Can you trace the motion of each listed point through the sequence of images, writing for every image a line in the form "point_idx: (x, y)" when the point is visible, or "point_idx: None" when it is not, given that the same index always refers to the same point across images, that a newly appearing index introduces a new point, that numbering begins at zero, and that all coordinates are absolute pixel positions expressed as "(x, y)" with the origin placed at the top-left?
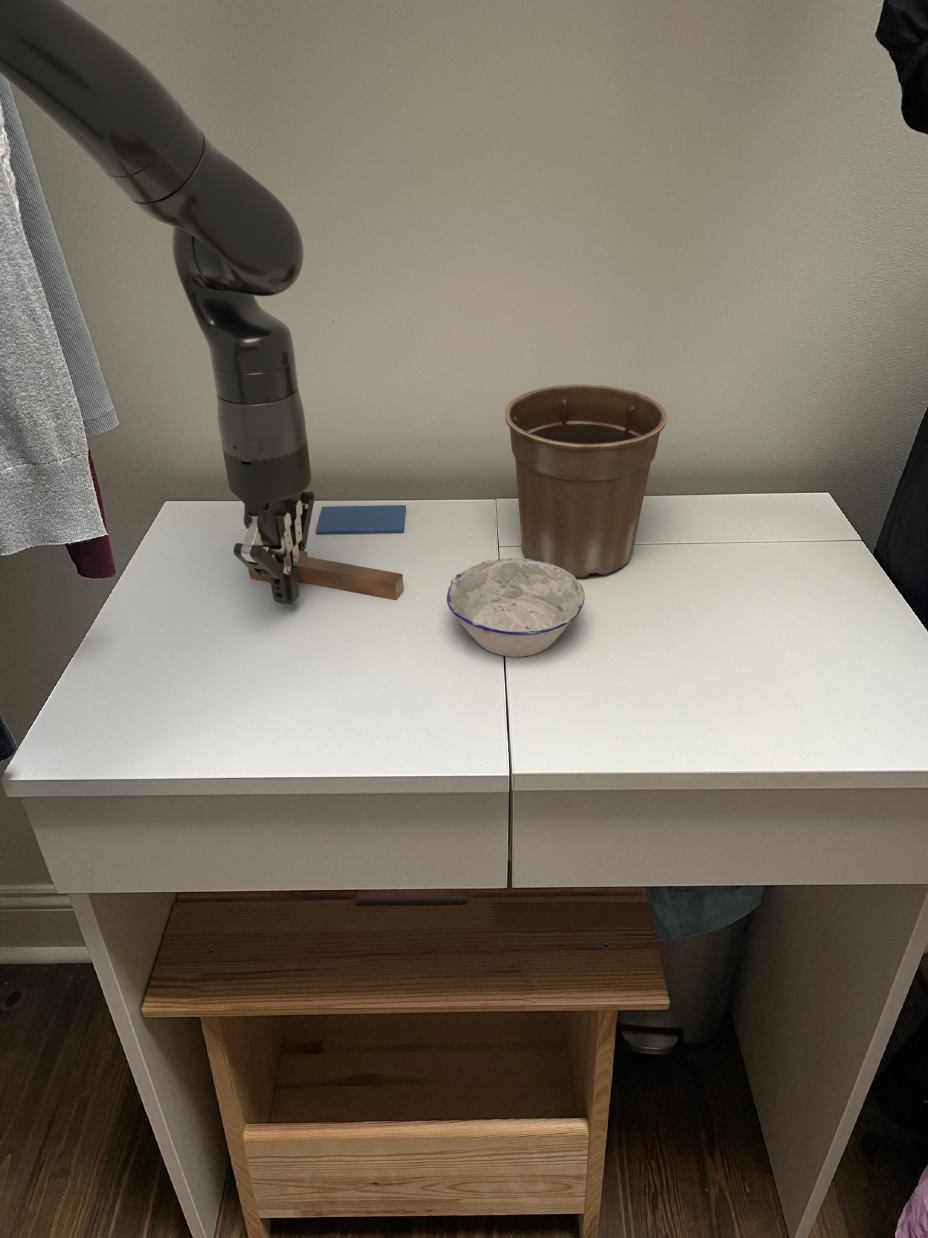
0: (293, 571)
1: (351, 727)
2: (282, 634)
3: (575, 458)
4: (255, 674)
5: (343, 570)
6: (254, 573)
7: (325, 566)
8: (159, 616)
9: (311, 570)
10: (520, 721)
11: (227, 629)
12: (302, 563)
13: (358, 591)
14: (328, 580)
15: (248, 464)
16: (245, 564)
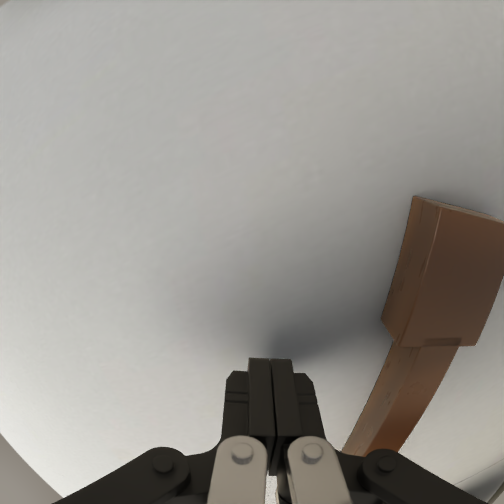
0: (268, 471)
1: (50, 454)
2: (175, 365)
3: None
4: (51, 348)
5: (384, 440)
6: (138, 456)
7: (404, 410)
8: (170, 18)
9: (398, 385)
10: None
11: (151, 235)
12: (425, 362)
13: (350, 437)
14: (377, 403)
15: None
16: (62, 501)
